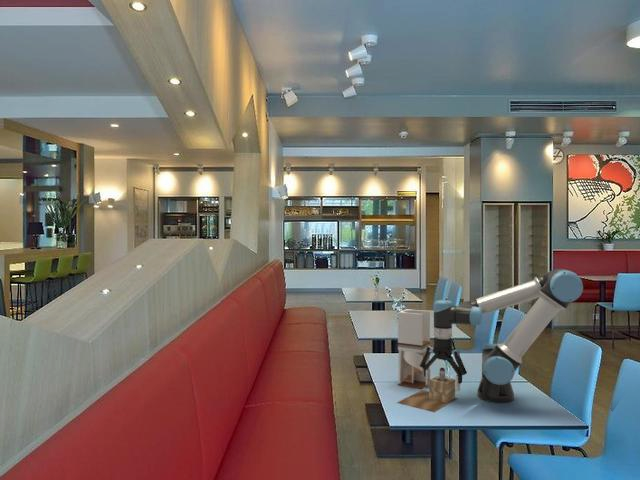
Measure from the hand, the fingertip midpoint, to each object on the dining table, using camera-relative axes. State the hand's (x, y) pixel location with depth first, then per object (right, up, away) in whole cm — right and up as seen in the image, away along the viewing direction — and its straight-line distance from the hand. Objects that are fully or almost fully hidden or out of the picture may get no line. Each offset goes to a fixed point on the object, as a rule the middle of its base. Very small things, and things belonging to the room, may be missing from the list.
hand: (442, 387), depth 218 cm
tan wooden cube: (0, -5, 0) cm, 5 cm away
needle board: (-7, -6, -2) cm, 9 cm away
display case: (-9, -6, +20) cm, 22 cm away
